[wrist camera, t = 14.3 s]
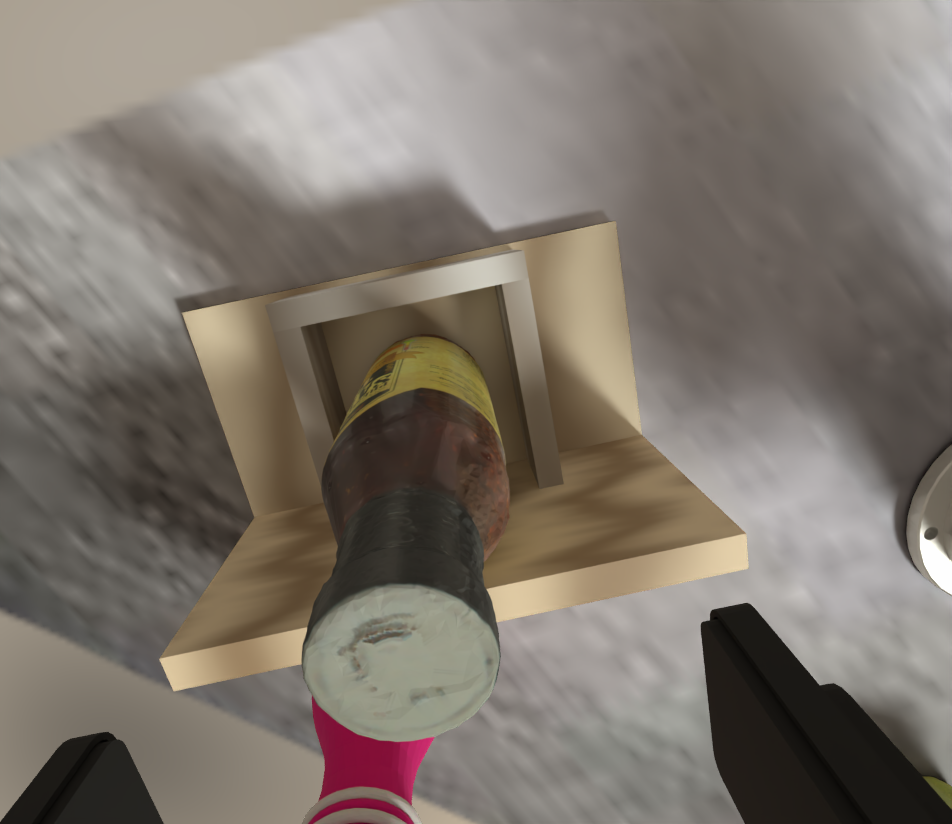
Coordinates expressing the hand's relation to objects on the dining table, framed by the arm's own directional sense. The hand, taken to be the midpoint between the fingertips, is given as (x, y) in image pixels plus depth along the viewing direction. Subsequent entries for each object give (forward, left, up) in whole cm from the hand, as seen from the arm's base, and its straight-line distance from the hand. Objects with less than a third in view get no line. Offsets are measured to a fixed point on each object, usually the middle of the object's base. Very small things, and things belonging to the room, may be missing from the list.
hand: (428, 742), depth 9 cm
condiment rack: (0, 0, -23) cm, 23 cm away
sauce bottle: (+1, 0, -22) cm, 22 cm away
